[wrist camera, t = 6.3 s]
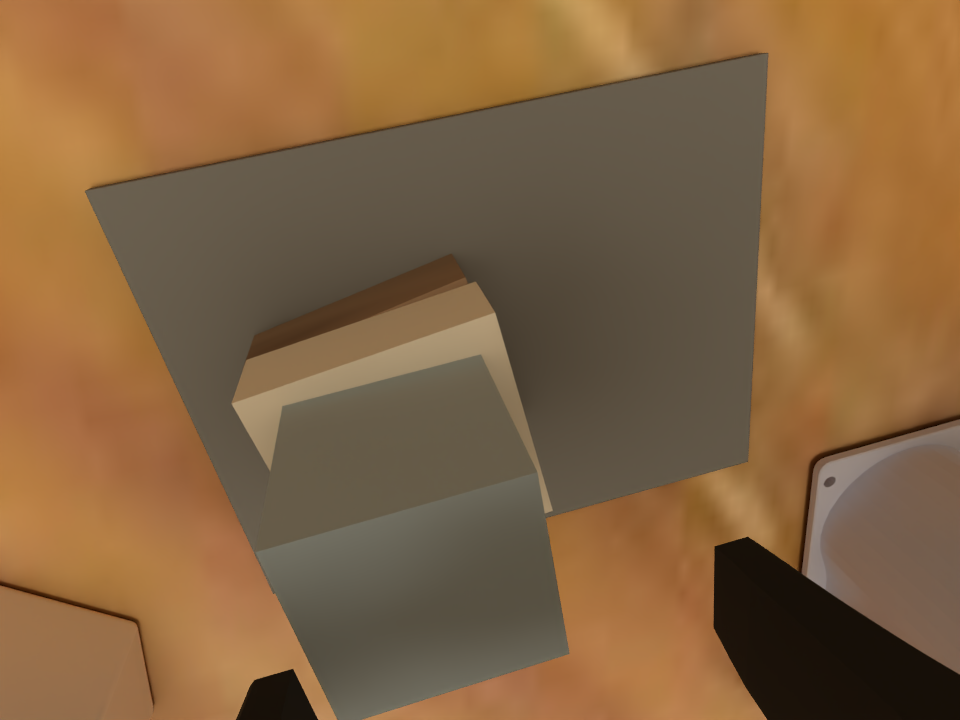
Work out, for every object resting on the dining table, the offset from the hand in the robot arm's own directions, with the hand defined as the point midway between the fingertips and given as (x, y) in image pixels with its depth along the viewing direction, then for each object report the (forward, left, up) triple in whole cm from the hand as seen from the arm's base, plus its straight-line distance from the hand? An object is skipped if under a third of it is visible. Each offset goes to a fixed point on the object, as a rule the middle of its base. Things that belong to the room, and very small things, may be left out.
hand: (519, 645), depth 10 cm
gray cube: (+1, +1, -5) cm, 5 cm away
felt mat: (0, -2, -10) cm, 10 cm away
